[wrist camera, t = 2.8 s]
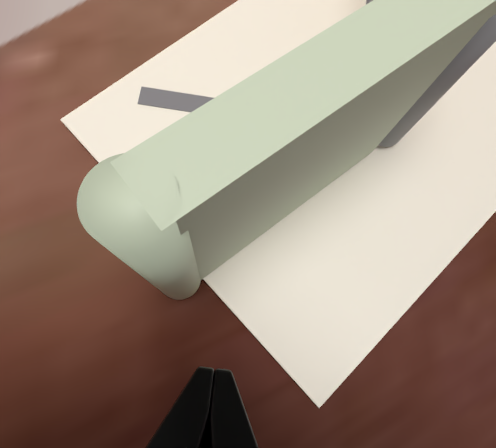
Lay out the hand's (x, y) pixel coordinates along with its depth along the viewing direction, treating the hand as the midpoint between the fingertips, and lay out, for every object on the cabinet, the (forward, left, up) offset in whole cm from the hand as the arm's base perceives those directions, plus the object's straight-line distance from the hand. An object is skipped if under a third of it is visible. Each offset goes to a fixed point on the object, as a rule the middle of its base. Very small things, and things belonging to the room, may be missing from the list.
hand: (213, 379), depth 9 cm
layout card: (+4, -13, -7) cm, 16 cm away
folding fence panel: (+3, -7, -6) cm, 10 cm away
